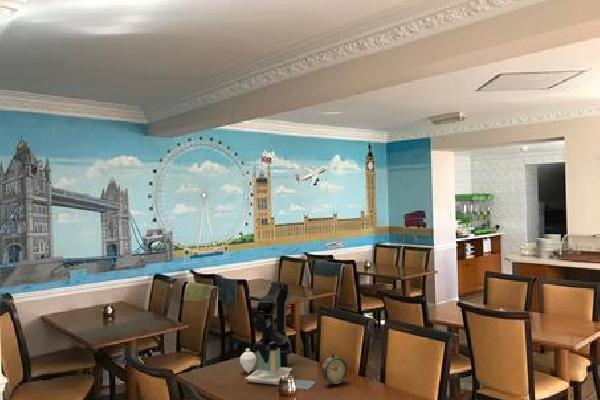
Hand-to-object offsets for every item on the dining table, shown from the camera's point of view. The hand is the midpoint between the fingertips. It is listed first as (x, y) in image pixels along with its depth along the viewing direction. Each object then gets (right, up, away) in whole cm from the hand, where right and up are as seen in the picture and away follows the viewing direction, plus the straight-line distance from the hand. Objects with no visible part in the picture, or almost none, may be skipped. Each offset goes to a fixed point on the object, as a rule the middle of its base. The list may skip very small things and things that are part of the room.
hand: (268, 361), depth 225 cm
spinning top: (-10, -9, +8) cm, 16 cm away
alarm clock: (+29, -7, -9) cm, 32 cm away
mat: (+15, -8, -9) cm, 19 cm away
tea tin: (0, -3, 0) cm, 3 cm away
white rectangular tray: (0, -8, 0) cm, 8 cm away
